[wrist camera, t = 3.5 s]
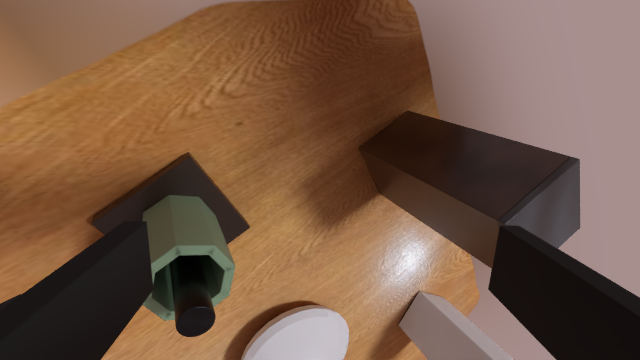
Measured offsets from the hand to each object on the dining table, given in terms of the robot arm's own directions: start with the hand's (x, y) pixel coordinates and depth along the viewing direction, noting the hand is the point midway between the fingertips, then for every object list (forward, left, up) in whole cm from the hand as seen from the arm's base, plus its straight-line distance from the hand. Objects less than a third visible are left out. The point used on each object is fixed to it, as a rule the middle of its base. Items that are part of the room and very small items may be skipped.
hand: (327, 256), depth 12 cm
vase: (+10, +31, -23) cm, 40 cm away
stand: (-16, +16, -23) cm, 32 cm away
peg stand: (+9, +6, -23) cm, 25 cm away
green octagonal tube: (+9, +6, -22) cm, 24 cm away
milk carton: (-9, +47, -23) cm, 53 cm away
